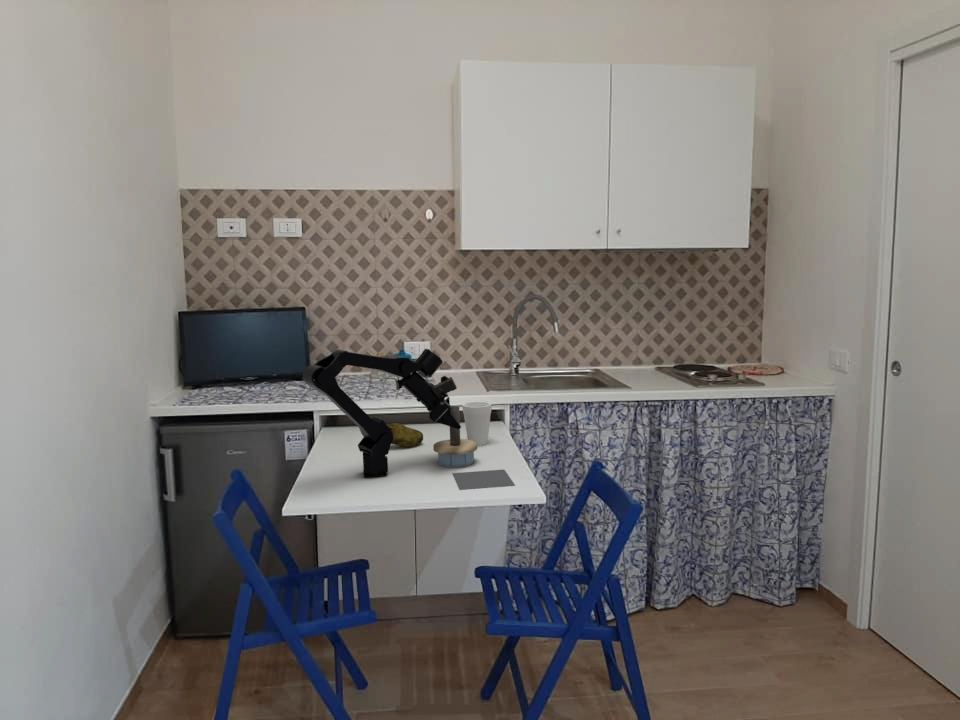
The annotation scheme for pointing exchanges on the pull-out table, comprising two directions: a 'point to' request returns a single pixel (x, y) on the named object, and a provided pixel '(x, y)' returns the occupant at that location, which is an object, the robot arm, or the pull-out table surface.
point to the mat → (482, 479)
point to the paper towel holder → (455, 440)
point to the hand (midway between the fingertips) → (459, 424)
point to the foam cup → (477, 421)
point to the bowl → (456, 459)
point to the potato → (405, 435)
